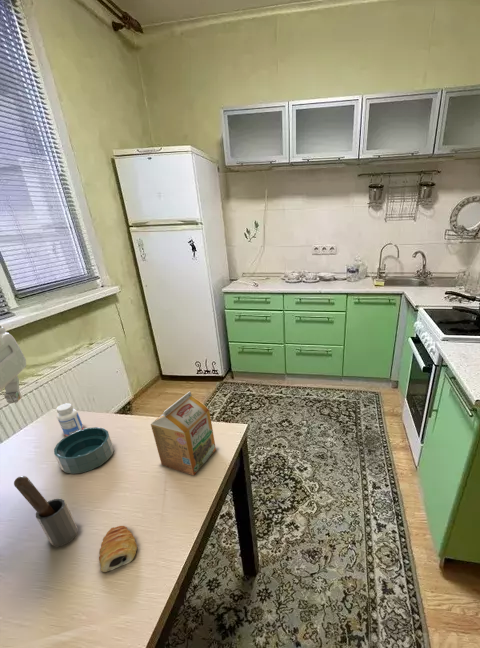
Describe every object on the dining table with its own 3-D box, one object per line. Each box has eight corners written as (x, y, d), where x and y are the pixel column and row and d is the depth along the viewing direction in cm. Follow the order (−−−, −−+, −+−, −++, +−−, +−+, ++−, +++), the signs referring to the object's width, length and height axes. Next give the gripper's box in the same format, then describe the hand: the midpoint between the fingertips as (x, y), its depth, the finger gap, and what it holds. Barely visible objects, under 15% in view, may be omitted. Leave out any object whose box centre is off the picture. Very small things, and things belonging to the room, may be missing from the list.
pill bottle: (73, 426, 106) (62, 401, 102) (87, 427, 105) (78, 402, 101) (60, 436, 101) (49, 411, 97) (75, 438, 101) (65, 412, 96)
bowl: (54, 480, 85) (45, 463, 82) (70, 447, 97) (64, 431, 94) (108, 470, 88) (102, 453, 85) (118, 439, 99) (113, 423, 97)
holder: (47, 551, 67) (31, 522, 63) (56, 530, 72) (41, 501, 68) (74, 545, 68) (59, 515, 64) (81, 524, 73) (68, 496, 69)
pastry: (100, 539, 69) (95, 527, 68) (133, 525, 72) (129, 513, 71) (102, 577, 62) (97, 565, 60) (140, 560, 65) (135, 548, 63)
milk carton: (193, 475, 85) (181, 416, 77) (162, 465, 89) (146, 408, 80) (216, 450, 94) (206, 394, 85) (186, 442, 97) (174, 387, 89)
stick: (58, 541, 69) (9, 484, 60) (61, 532, 71) (14, 475, 61) (69, 538, 69) (21, 480, 60) (72, 528, 71) (27, 472, 62)
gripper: (-22, 321, 58) (10, 388, 64) (-117, 372, 40) (-59, 458, 46) (19, 318, 59) (46, 383, 65) (-56, 365, 41) (-8, 449, 48)
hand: (2, 415), depth 56 cm, fingers open, 8 cm apart
